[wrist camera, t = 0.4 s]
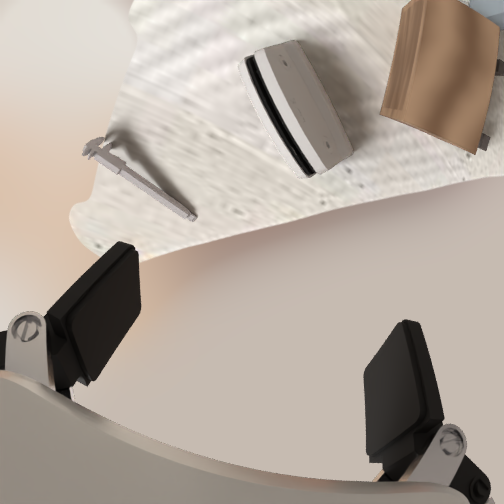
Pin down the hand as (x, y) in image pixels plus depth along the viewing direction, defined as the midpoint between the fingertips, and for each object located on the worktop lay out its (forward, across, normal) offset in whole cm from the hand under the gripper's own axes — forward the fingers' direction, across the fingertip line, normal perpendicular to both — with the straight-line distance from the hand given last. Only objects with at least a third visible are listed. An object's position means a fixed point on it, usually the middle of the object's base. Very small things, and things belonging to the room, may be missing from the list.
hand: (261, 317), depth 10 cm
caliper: (+31, +21, +9) cm, 38 cm away
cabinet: (+30, -16, -16) cm, 38 cm away
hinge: (+31, +1, -6) cm, 31 cm away
